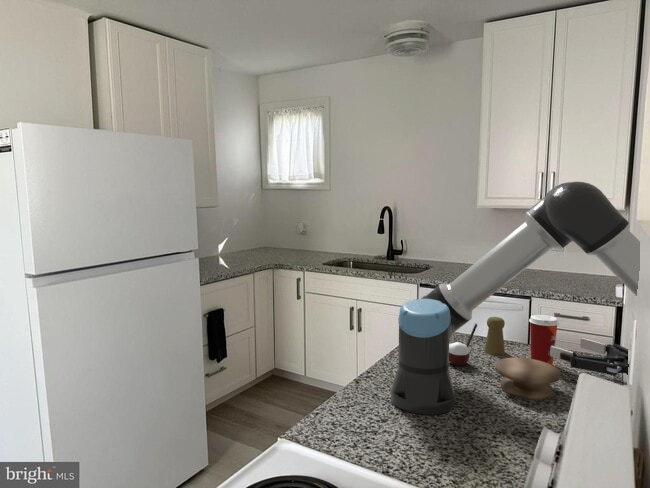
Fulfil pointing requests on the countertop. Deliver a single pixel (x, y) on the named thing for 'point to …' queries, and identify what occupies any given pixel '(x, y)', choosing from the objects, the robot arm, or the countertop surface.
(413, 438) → the countertop surface
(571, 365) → the robot arm
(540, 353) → the paper cup
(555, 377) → the pedestal stand
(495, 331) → the cork
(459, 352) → the cocoa
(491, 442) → the countertop surface
